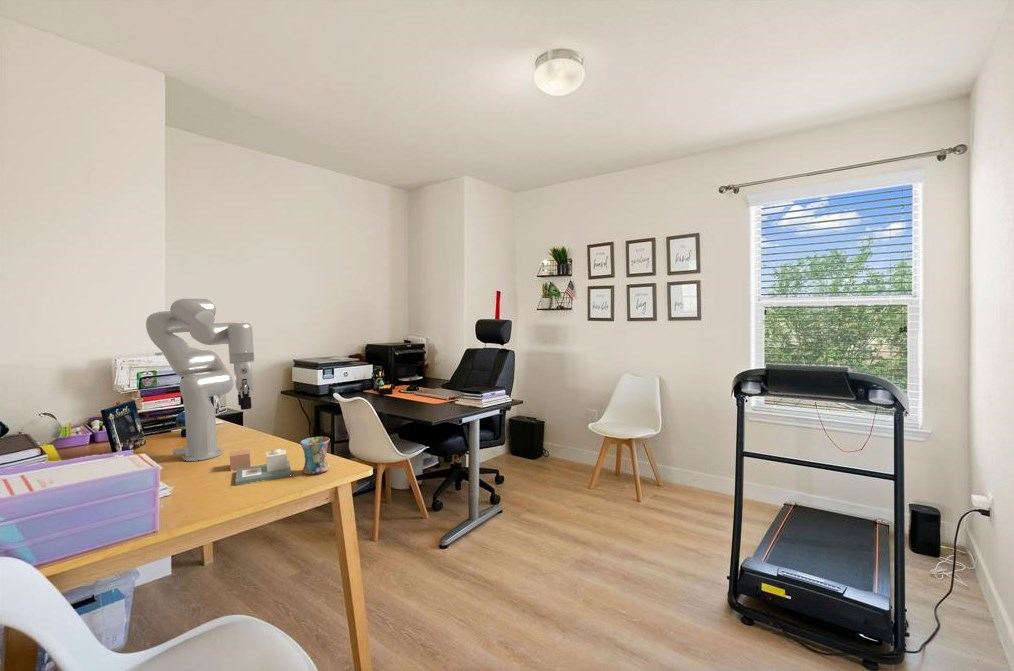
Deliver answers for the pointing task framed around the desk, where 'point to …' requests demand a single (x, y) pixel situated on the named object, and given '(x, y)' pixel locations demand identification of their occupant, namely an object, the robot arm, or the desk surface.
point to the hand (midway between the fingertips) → (244, 406)
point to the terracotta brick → (239, 459)
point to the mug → (315, 455)
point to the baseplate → (266, 468)
